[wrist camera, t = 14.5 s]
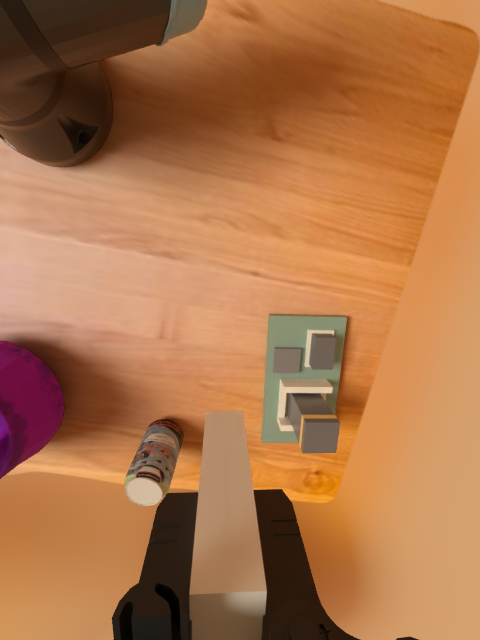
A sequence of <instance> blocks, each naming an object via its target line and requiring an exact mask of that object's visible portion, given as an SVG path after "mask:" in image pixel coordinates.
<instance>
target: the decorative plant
mask: <svg viewBox="0 0 480 640" xmlns="http://www.w3.org/2000/svg"><path fill="white" fill-rule="evenodd" d="M64 408H65V405H64V400H63V395H62V390H61V386H60V384H59V383H58V381H57V379H56V378H55V376H54V375H53V373H52V371H51V370H50V368H49V367H48V366H47V365H46V364H45V363H43V362H42V361H41V360H40V359H39V358H37V357H36V356H35V355H34V354H33V353H31V352H30V351H28V350H26V349H23V348H21V347H19V346H16V345H14V344H12V343H9V342H7V341H0V479H1V478H2V477H3V476H5V475H6V474H7V473H8V472H10V471H11V470H12V469H14V468H15V467H16V466H17V465H19V464H20V463H22V462H23V461H25V460H27V459H28V458H30V457H31V456H33V455H35V454H36V453H38V452H39V451H40V450H41V449H42V448H43V447H44V446H45V445H46V444H47V443H48V442H49V441H50V440H51V439H52V437H53V436H54V435H55V433H56V432H57V430H58V429H59V428H60V426H61V423H62V418H63V413H64Z"/></svg>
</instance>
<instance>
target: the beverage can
mask: <svg viewBox="0 0 480 640" xmlns="http://www.w3.org/2000/svg"><path fill="white" fill-rule="evenodd" d="M182 441H183V431H182V429H181V428H180V426H179V425H177V424H176V423H175V422H172V421H170V420H157V421H155V422H153V423H151V424H150V426H149V427H148V429H147V431H146V433H145V435H144V438H143V440H142V442H141V444H140V446H139V449H138V451H137V453H136V455H135V457H134V460H133V462H132V464H131V466H130V468H129V470H128V473H127V475H126V478H125V486H126V489H125V492H126V495H127V497H128V498H129V499H130V500H131V501H132V502H134V503H136V504H139V505H142V506H151V505H154V504H156V503H158V502H159V501H160V500H161V499H162V497H163V496H164V495H165V494H166V493H167V492H168V490H169V487H170V484H171V480H172V477H173V473H174V469H175V466H176V462H177V459H178V455H179V452H180V448H181V445H182Z"/></svg>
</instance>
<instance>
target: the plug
mask: <svg viewBox="0 0 480 640" xmlns="http://www.w3.org/2000/svg"><path fill="white" fill-rule="evenodd" d="M287 414H288V417H289V420H290V422H291V425H292V427H293V430H294V432H295V435H296V437H297V440H298V442H299V446H300V448H301V450H302V452H303V453H336V449H337V442H338V434H339V426H340V422H339V421H338V419H337V417H336V415H334V413H333V412H332V410H331V409H330V407H329V406H328V404H327V403H326V401H325V400H324V398H323V397H322V396H321V394H320V393H288V403H287Z"/></svg>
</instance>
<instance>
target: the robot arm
mask: <svg viewBox="0 0 480 640" xmlns="http://www.w3.org/2000/svg"><path fill="white" fill-rule="evenodd" d="M206 6H207V0H0V138H1V139H2V140H3V141H4V142H5V143H7V144H8V145H9V146H10V147H12V148H13V149H14V150H16V151H17V152H19V153H21V154H22V155H24V156H26V157H28V158H31V159H33V160H35V161H37V162H40V163H42V164H46V165H50V166H58V167H63V166H72V165H76V164H79V163H81V162H83V161H85V160H87V159H89V158H90V157H91V156H93V155H94V154H95V153H96V152H97V151H98V150H99V149H100V148H101V146H102V145H103V143H104V142H105V140H106V138H107V136H108V133H109V131H110V127H111V123H112V116H113V104H112V96H111V92H110V88H109V85H108V82H107V80H106V77H105V75H104V73H103V71H102V69H101V68H100V66H99V65H98V63H97V61H101V60H104V59H107V58H111V57H114V56H117V55H121V54H124V53H127V52H131V51H134V50H137V49H140V48H144V47H147V46H150V45H154V44H155V45H157V46H162V45H164V44H165V43H167V41H168V40H169V39H172V38H175V37H177V36H180V35H183V34H185V33H188V32H191V31H192V30H194V29H195V28H196V27H197V26H198V24H199V22H200V21H201V20H202V18H203V16H204V13H205V10H206ZM112 624H113V634H114V640H360V639H357V638H355V637H353V636H351V635H349V634H347V633H346V632H344V631H343V630H342V629H340V628H339V627H338V626H337V625H336V624H335V623H334V622H333V621H332V620H331V619H330V618H329V616H328V615H327V614H326V612H325V610H324V608H323V607H322V605H321V603H320V600H319V597H318V595H317V591H316V588H315V584H314V580H313V577H312V573H311V570H310V566H309V562H308V559H307V555H306V552H305V548H304V544H303V541H302V537H301V535H300V530H299V526H298V523H297V519H296V515H295V512H294V509H293V505H292V502H291V501H290V500H289V498H288V497H287V496H286V494H285V493H284V492H283V490H282V489H273V490H253V484H252V476H251V469H250V461H249V454H248V447H247V439H246V432H245V424H244V417H243V411H206V415H205V426H204V437H203V448H202V459H201V471H200V482H199V492H197V493H196V492H194V493H167V495H166V496H165V497H164V499H163V500H162V502H161V503H160V504H159V506H158V508H157V511H156V515H155V519H154V523H153V529H152V531H151V536H150V540H149V544H148V547H147V552H146V556H145V560H144V564H143V568H142V572H141V576H140V580H139V583H138V584H136V585H135V586H133V587H132V588H130V590H129V591H128V592H127V593H126V594H125V595H124V597H123V598H122V599H121V600H120V601H119V603H118V606H117V608H116V610H115V612H114V615H113V617H112ZM396 640H418V639H415V638H412V637H404V638H397V639H396Z"/></svg>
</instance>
